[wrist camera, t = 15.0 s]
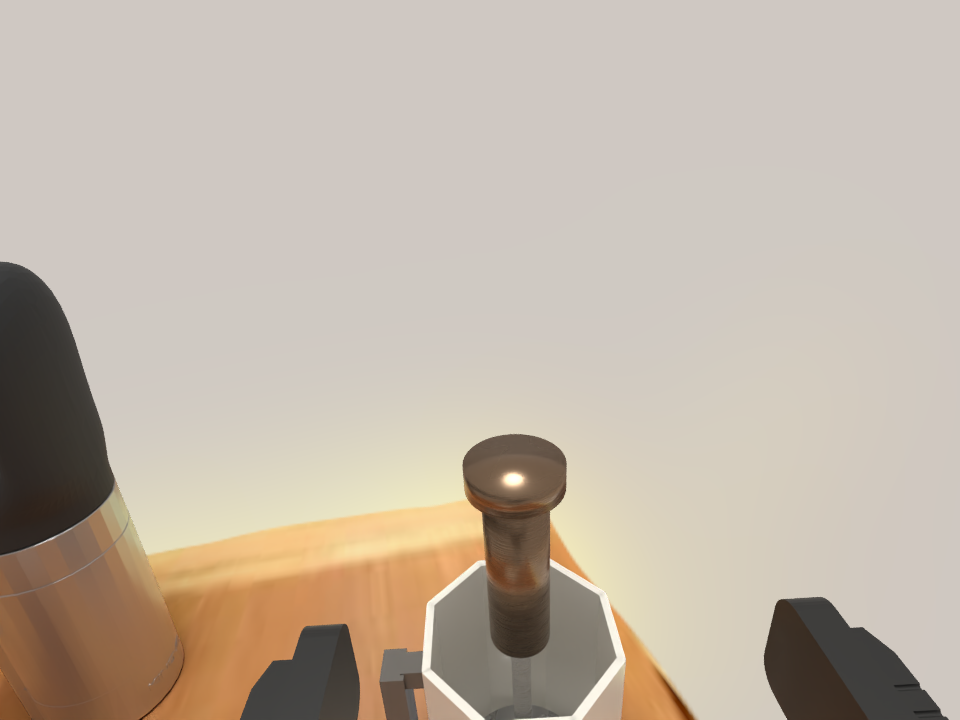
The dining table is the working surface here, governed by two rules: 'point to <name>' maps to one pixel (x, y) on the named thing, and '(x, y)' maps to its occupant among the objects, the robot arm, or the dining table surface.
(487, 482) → the plunger
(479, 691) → the coffee press
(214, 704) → the dining table surface
